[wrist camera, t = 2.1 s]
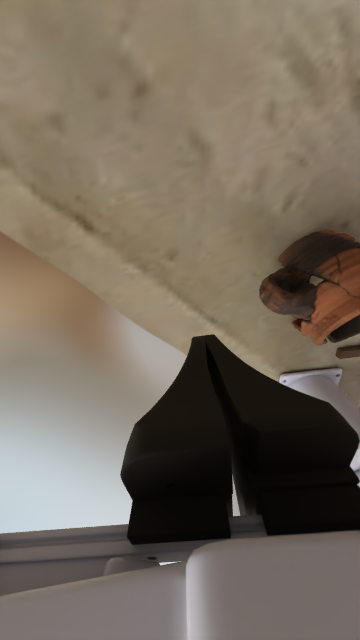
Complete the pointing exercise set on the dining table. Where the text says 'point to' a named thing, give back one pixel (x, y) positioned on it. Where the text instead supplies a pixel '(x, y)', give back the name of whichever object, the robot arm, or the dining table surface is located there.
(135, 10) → the dining table surface
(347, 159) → the dining table surface
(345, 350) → the walnut spoon
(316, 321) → the pottery shards
